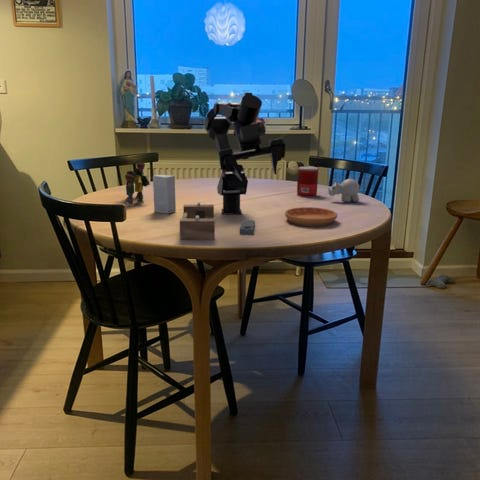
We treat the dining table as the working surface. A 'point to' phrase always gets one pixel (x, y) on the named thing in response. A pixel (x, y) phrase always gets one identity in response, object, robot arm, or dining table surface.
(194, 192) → the dining table surface
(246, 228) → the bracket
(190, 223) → the open box
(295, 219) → the saucer
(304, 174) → the canned food
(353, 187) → the toy rhinoceros
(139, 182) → the dark toy figure
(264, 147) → the robot arm
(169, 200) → the skincare box
